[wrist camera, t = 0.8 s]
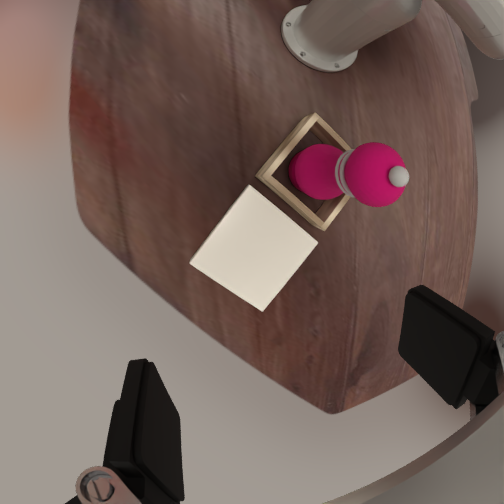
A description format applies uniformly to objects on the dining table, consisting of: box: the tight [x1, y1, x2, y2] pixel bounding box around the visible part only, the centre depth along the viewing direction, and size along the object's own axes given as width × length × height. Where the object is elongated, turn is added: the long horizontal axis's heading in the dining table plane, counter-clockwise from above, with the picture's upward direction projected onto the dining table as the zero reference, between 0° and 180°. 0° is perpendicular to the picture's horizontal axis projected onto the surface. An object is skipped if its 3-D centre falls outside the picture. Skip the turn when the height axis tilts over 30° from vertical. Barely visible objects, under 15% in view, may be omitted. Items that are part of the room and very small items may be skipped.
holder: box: [255, 113, 351, 231], centre depth 36 cm, size 11×11×4 cm
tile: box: [189, 185, 318, 312], centre depth 39 cm, size 13×13×1 cm
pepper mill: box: [289, 142, 409, 207], centre depth 29 cm, size 7×7×20 cm
